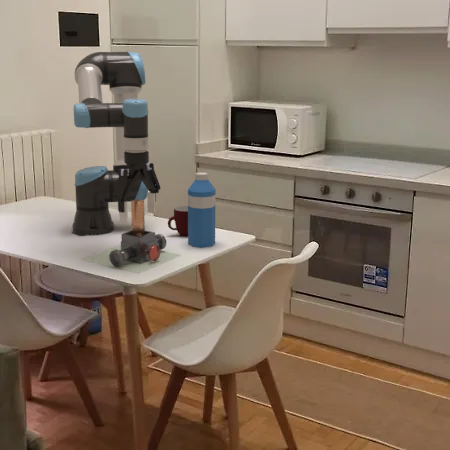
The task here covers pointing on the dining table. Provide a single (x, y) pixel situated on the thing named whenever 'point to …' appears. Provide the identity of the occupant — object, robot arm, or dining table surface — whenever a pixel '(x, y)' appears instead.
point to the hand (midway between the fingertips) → (137, 217)
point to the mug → (180, 220)
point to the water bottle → (201, 212)
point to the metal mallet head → (138, 248)
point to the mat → (128, 266)
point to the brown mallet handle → (138, 217)
